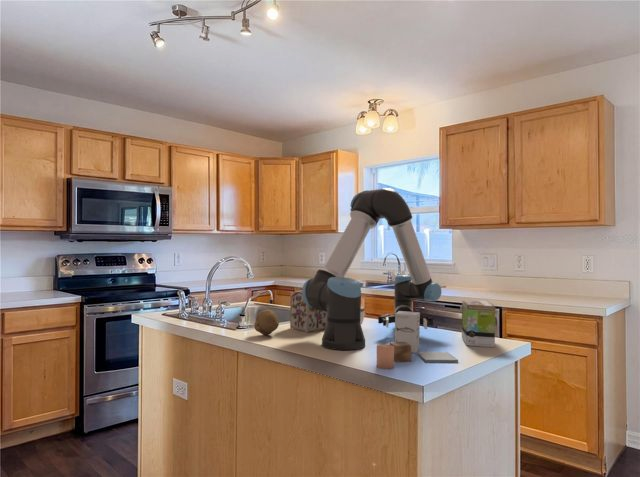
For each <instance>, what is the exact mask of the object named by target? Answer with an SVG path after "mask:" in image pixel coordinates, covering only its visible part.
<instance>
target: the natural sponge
mask: <svg viewBox="0 0 640 477" xmlns="http://www.w3.org/2000/svg"><path fill="white" fill-rule="evenodd" d="M279 325H280V323H279V317H278V315H277V314H276V313H275V311H273V310H271V309H264V310H262V311H260V312H259V313H258V315H257V316H256V319H255V322H254V329H255V331H256V332H258V333H259V334H262V335H263V336H270V335H271V334H272V333H273V332H274V331H276V330H277V329H278V327H279Z"/></svg>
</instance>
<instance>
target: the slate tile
mask: <svg viewBox="0 0 640 477" xmlns="http://www.w3.org/2000/svg"><path fill="white" fill-rule="evenodd" d="M416 353H417V356H418V357H419V358H420V359H421V360H422V361H423V362H424V363H449V364H450V363H459V359H458V358H456V356H454V355H453V354H451V353H450V352H448V351H417V352H416Z"/></svg>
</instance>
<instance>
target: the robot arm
mask: <svg viewBox="0 0 640 477" xmlns="http://www.w3.org/2000/svg"><path fill="white" fill-rule="evenodd" d="M350 201H351V202H350V213H349V216H350V220H349V222H348V224H347V225H346V226H345V227H346V228H345V229H344V231H343V233H342V235H341V236H340V238H339V240H338V242H337V243H336V245H335V247H334V249H333V251H332V252H331V254H330V256H329V258H328V260H327V261H326V263H325V265H324V267H323V268H318V269H317V271H316V273H315V275H314V276H313V277H311V278H309V279H307V280H306V281H305V282H304V284H303V285H302V287H301V288H302V289H301V290H302V296H303V300H304V302H305V303H306V305H307V306H309V307H311V308H313V309H315V310H321V311H326V312H327V325H326V328H325V330H324V332H323V335H322V338H321V346H323V347H324V348H327V349H330V350H336V351H337V350H338V351H352V350H354V351H355V350H360V349H363V348H365V347H366V337H365V335H364V331H363V328H362V324H360V316H361V306H362V289H361V288H362V286H361V282H359V281H358V280H357V279H354V278H350V277H346V275H347V273H348V271H349V269H350V267H351V266H352V263H353V262H354V260H355V258H356V256H357V255H358V253H359V250H360V248H361V247H362V245H363V243H364V241H365V240H366V237H367V236H368V233H369V232H370V230H371V229H375V228H376V227H377V224H378V223H379V221H380V219H385V220H386V223H387V224H388V226H389V227H391V228H392V230H393V233H394V236H395V239H396V242H397V244H398V246H399V249H400V252H401V255H402V257H403V260H404V263H405V266H406V268H407V270H408V273H409V274H408V275H407V274H397V275H395V277H394V284H393V285H394V301H393V302H394V303H393V304H394V308H393V315H392V313H390V312H389V313H386V314H383V315H379V316H378V318H377V320H378V324H382V325H383V327H385V328H389V324H393V323H394V324H395V313H397V312H398V311H407V312H414V311H413V300H418V301H425V302H437V301H438V300H440V298H441V296H442V287H441V285H440V284H439V283H437V282H434V281H433V279H432V277H431V273H430V272H429V268H428V265H427V262H426V260H425V257H424V253H423V251H422V249H421V246H420V243H419V240H418V237H417V235H416V232H415V229H414V226H413V224H412V223H413V222H412V219H413V215H412V212H411V209H410V208H409V205H408V203H407V202H406V200H405V199H404V198H403V196H402V195H401V194H399V193H398V192H397V191H396V190H394V189H392V188H388V187H385V188H378V189H371V190H367V189H366V190H363V191H361V192H357V193H356V194H355V195H354V196H353V198H352V199H351V200H350ZM420 325H423V326H422V327H423V328H424V330H427V329H428V326H434V318H433V317H429V316H424V315H423V314H420Z"/></svg>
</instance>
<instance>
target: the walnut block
mask: <svg viewBox="0 0 640 477" xmlns="http://www.w3.org/2000/svg"><path fill="white" fill-rule="evenodd" d="M389 345H393V346H394V363H409V362H410V363H411V362H412V352H411V345H410V344H408V343H406V342H395V341H392V342H391V341H389Z"/></svg>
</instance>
